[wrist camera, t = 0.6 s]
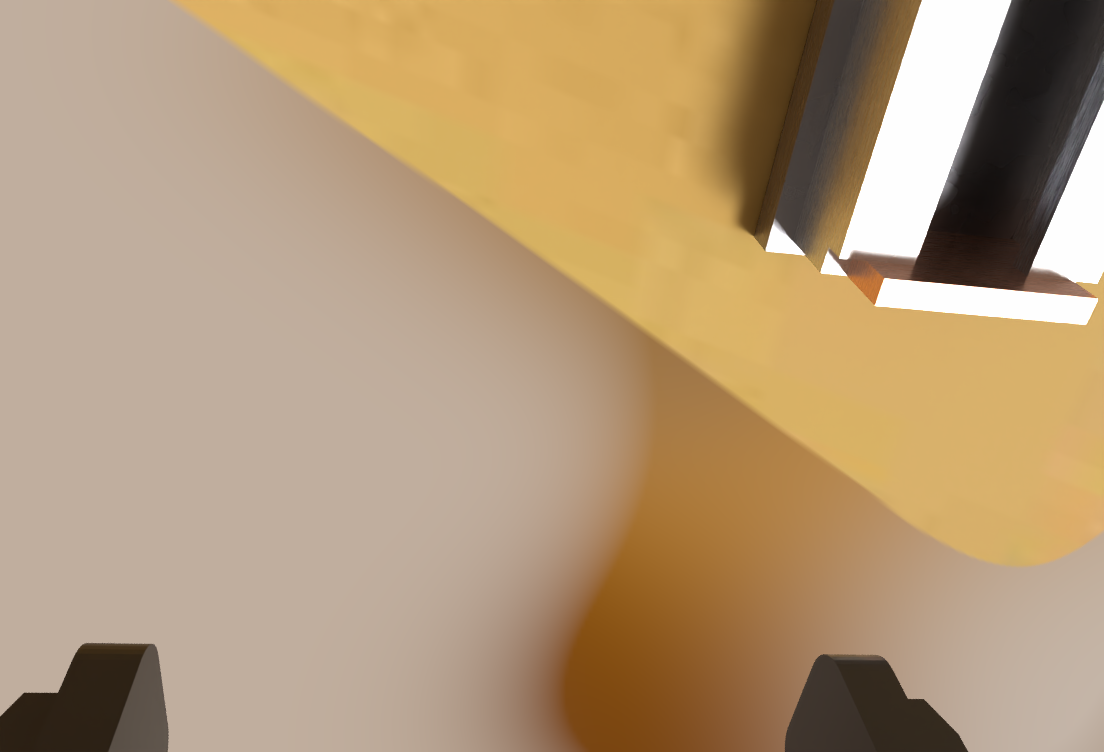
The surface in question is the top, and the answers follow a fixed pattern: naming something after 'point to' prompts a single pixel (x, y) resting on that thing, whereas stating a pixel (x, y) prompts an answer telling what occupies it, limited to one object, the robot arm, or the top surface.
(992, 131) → the track
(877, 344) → the top surface
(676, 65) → the top surface
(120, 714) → the robot arm
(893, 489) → the top surface
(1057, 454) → the top surface
